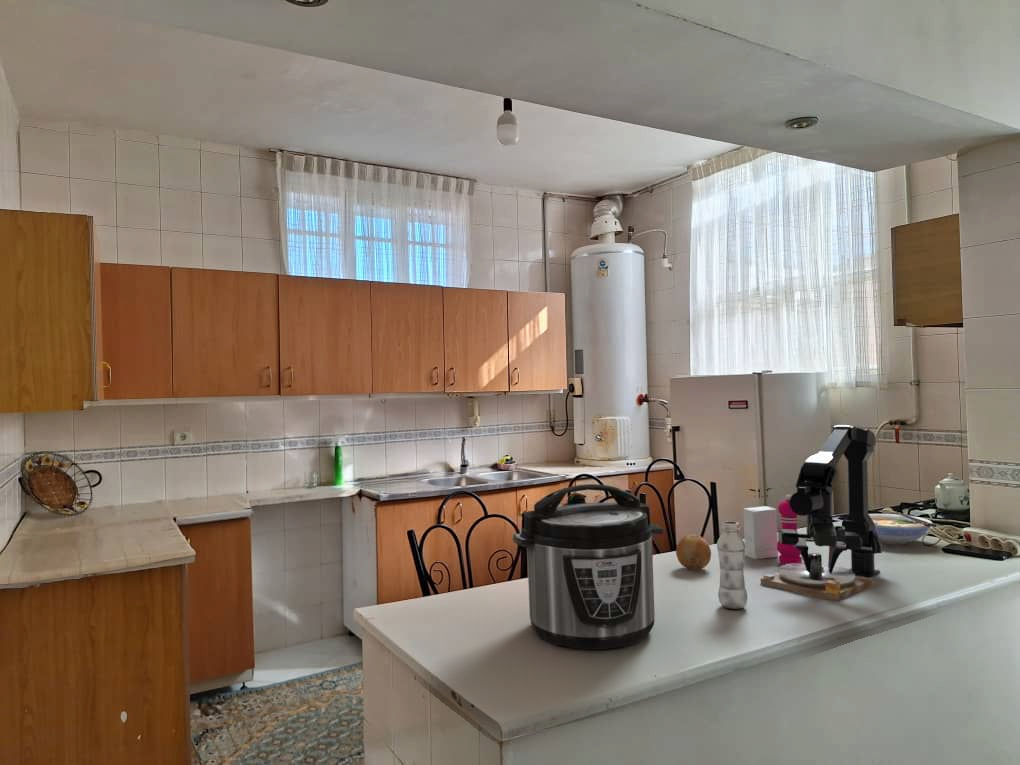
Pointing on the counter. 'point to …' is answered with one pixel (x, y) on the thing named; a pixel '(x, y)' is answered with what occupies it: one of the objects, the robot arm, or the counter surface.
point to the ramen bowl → (900, 527)
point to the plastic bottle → (731, 567)
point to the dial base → (830, 592)
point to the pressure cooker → (590, 568)
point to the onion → (693, 552)
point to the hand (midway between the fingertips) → (819, 572)
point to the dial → (815, 573)
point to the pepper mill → (790, 522)
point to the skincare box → (760, 532)
